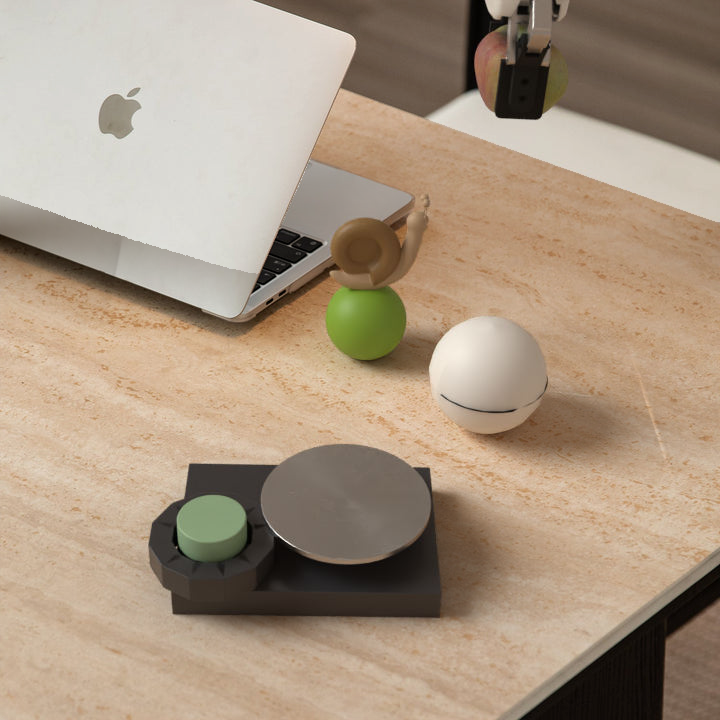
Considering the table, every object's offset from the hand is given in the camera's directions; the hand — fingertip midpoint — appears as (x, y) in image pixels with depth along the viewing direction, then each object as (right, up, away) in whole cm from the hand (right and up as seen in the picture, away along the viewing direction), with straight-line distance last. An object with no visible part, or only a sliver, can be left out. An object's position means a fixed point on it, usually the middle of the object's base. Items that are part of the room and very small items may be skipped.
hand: (511, 93), depth 87 cm
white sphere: (-2, -23, -8) cm, 24 cm away
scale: (-13, -29, -17) cm, 37 cm away
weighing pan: (-11, -26, -19) cm, 35 cm away
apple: (0, -1, +1) cm, 1 cm away
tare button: (-18, -28, -21) cm, 40 cm away
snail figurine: (-10, -18, -2) cm, 21 cm away
